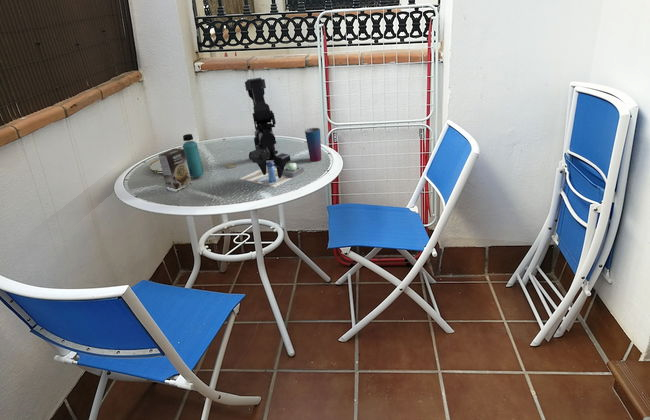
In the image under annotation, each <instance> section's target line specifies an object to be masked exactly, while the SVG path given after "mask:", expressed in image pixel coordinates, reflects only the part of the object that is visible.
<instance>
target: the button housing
mask: <svg viewBox="0 0 650 420" xmlns="http://www.w3.org/2000/svg"><path fill="white" fill-rule="evenodd" d="M296 167H297V170H295V171H293V172H291V171H288V170H287V167H284V168H285V169H284V170H283V173H282V175H283V176H288V177H293V178H292V179H294V178H295V176H296V177H297V175H298V176H299V175H301V174H303V173H305V168H304V167H303V166H298V165H296Z"/></svg>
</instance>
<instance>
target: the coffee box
mask: <svg viewBox="0 0 650 420" xmlns="http://www.w3.org/2000/svg"><path fill="white" fill-rule="evenodd" d="M158 159H160V164H161V168H162V172H163V174H162V175H163V179H164V183H165V187H169V188H173V189H178V188H181V187H183V186H185V185H188V184H190V183H192V184H193V182H192V179H191V178H192V177H191V176H190V173H189V169H188V165H187V160H186V156H185V152H184V149H183V148H172V149H169V150H167V151H165V152H162V153H160V154H158ZM188 186H189V185H188Z"/></svg>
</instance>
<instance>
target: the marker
mask: <svg viewBox="0 0 650 420" xmlns="http://www.w3.org/2000/svg"><path fill="white" fill-rule="evenodd" d="M274 164H275V163H274V161H266V166H267V169H268V175H269V181H270V183H274V182H276V176H275V169H274Z"/></svg>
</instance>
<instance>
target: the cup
mask: <svg viewBox="0 0 650 420" xmlns="http://www.w3.org/2000/svg"><path fill="white" fill-rule="evenodd" d="M304 134H305V139H306V144H307V151H308V155H309V160H310V162H311V163H317V162H320V161H322V142H321V141H322V140H321V128H319V127H310V128H307V129H305V130H304Z"/></svg>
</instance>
